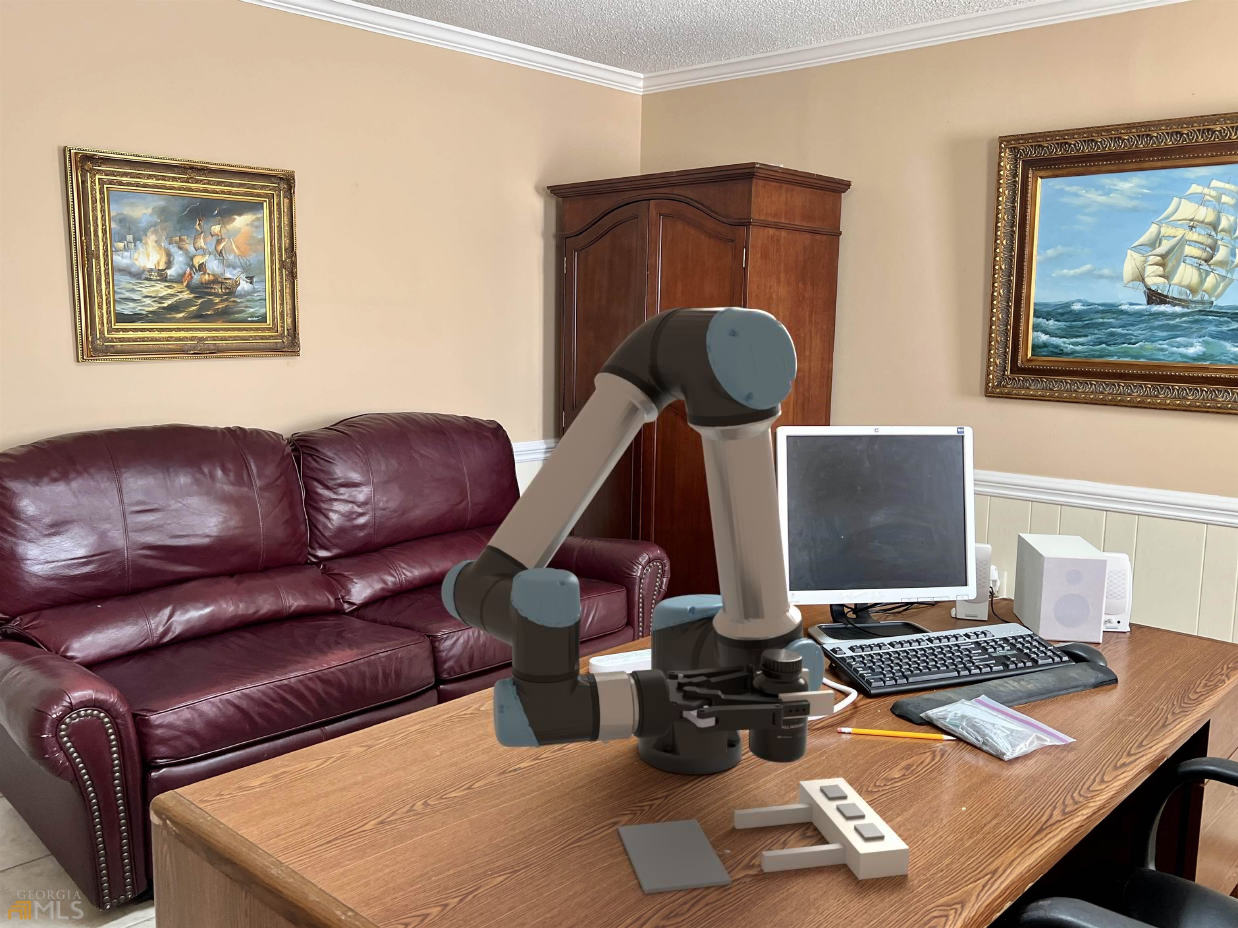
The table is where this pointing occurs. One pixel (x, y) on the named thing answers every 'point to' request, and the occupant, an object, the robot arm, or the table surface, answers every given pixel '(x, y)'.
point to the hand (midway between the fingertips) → (819, 690)
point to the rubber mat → (672, 856)
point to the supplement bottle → (772, 681)
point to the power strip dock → (832, 832)
